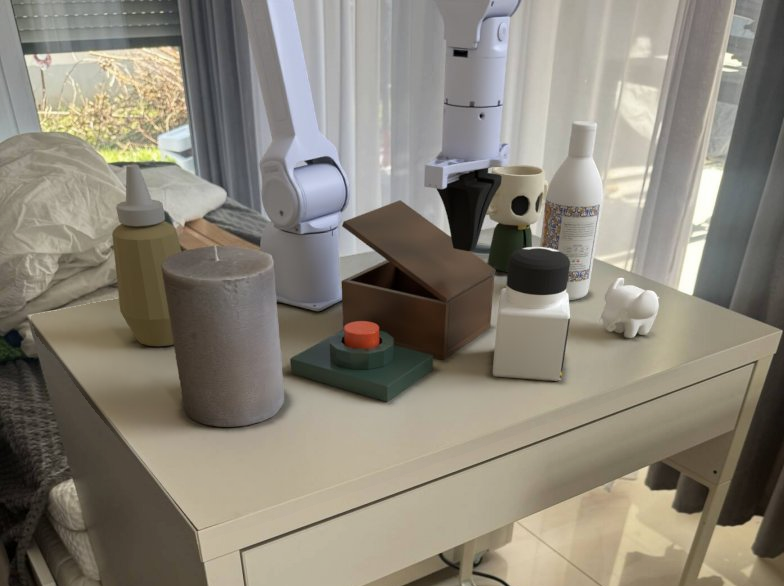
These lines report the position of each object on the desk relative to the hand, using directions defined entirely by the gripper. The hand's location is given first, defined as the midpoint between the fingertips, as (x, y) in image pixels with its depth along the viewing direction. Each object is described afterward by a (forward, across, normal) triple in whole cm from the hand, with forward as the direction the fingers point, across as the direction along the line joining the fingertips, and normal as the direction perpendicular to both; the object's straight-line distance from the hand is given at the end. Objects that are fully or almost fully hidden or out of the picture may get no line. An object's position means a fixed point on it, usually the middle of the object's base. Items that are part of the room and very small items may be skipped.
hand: (464, 248), depth 82 cm
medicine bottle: (+10, -2, -9) cm, 14 cm away
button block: (+10, -13, +4) cm, 17 cm away
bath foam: (+10, +22, -4) cm, 25 cm away
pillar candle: (+10, -26, +10) cm, 30 cm away
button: (+7, -13, +5) cm, 16 cm away
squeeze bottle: (+11, -18, +28) cm, 35 cm away
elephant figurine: (+10, +13, -16) cm, 23 cm away
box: (+10, 0, +6) cm, 12 cm away
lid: (+1, 0, +5) cm, 6 cm away
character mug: (+11, +27, +6) cm, 30 cm away
